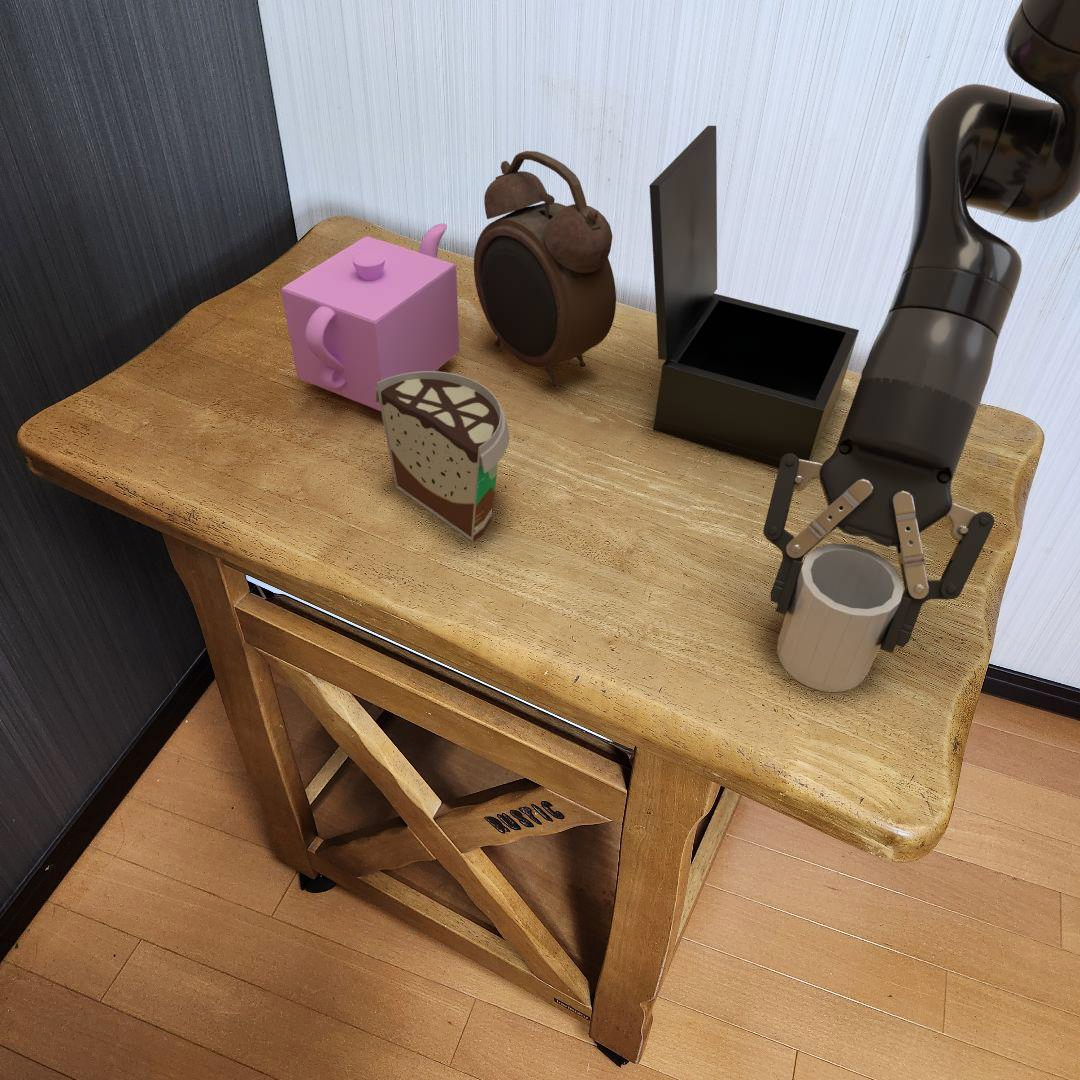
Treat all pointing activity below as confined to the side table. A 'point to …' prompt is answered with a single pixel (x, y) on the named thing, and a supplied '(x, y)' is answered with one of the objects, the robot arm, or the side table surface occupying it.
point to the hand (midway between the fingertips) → (832, 631)
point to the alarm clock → (544, 268)
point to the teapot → (373, 316)
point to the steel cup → (838, 616)
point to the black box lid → (684, 239)
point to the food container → (444, 444)
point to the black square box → (753, 380)
